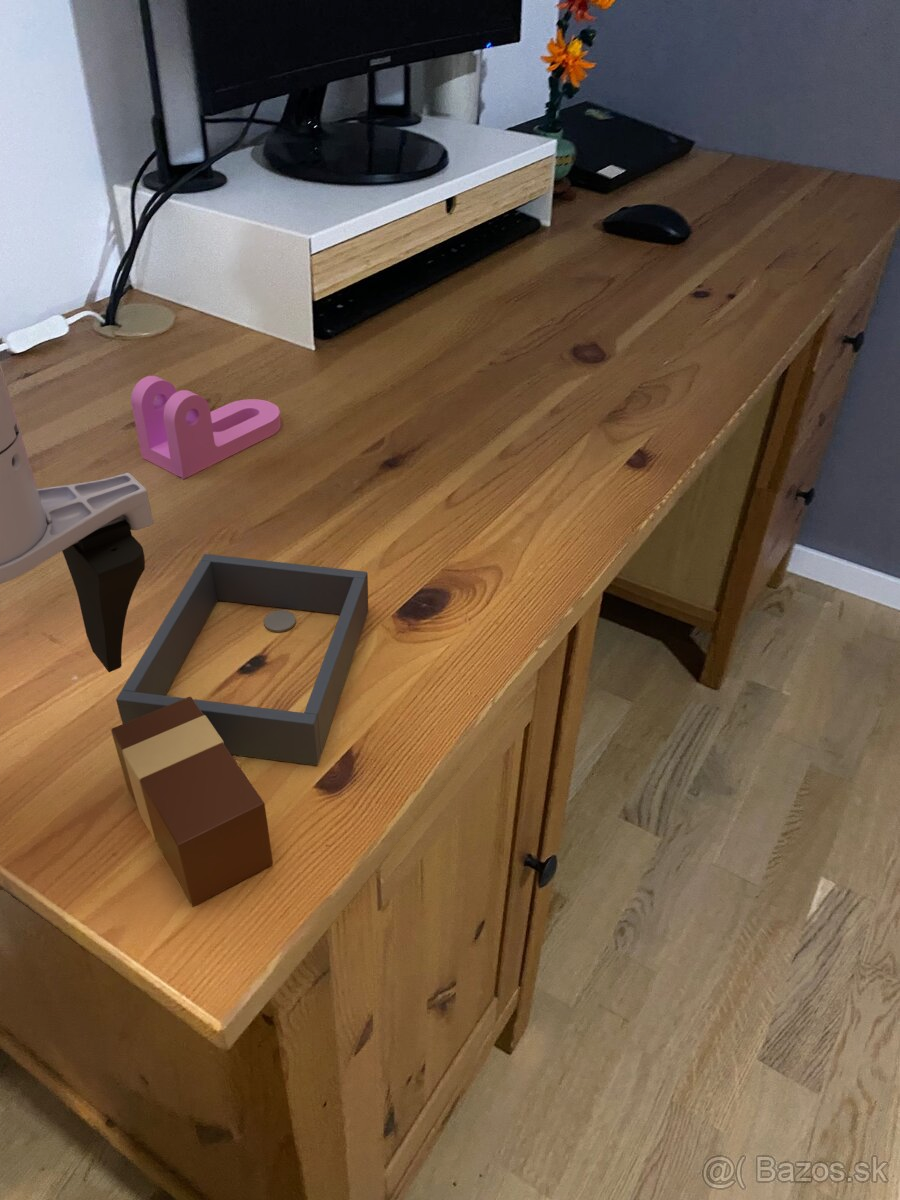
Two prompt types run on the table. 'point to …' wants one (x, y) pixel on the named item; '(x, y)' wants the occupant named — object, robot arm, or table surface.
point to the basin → (276, 588)
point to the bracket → (195, 426)
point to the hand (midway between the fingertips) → (30, 692)
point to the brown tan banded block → (194, 799)
